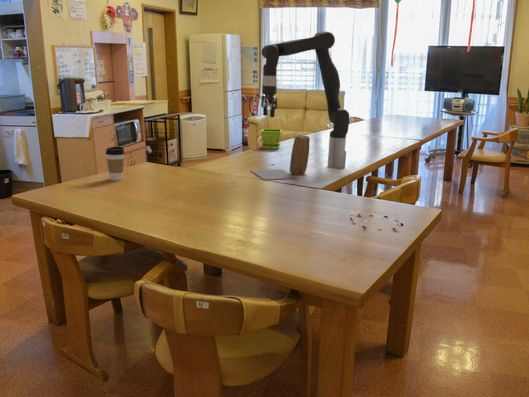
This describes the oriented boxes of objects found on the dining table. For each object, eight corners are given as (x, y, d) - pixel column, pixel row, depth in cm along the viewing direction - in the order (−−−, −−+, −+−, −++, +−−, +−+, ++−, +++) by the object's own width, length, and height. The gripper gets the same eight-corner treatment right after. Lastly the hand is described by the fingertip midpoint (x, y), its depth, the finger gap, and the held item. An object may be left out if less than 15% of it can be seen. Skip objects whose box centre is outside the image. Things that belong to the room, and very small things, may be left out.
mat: (281, 170, 266) (281, 169, 265) (297, 178, 246) (297, 177, 245) (250, 171, 259) (250, 170, 259) (264, 180, 239) (264, 179, 239)
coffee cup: (129, 178, 231) (128, 147, 228) (117, 182, 224) (115, 149, 220) (115, 176, 235) (114, 145, 231) (102, 179, 227) (101, 148, 224)
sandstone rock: (301, 176, 251) (306, 138, 245) (287, 173, 254) (292, 135, 248) (307, 173, 261) (313, 136, 255) (294, 170, 263) (299, 133, 258)
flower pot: (262, 146, 347) (263, 128, 343) (282, 147, 345) (282, 129, 342) (259, 149, 333) (260, 130, 330) (279, 150, 331) (280, 131, 328)
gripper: (282, 85, 248) (281, 117, 252) (270, 84, 261) (269, 114, 265) (268, 85, 245) (268, 117, 249) (257, 84, 257) (256, 115, 262)
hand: (268, 116), depth 257 cm, fingers open, 8 cm apart
